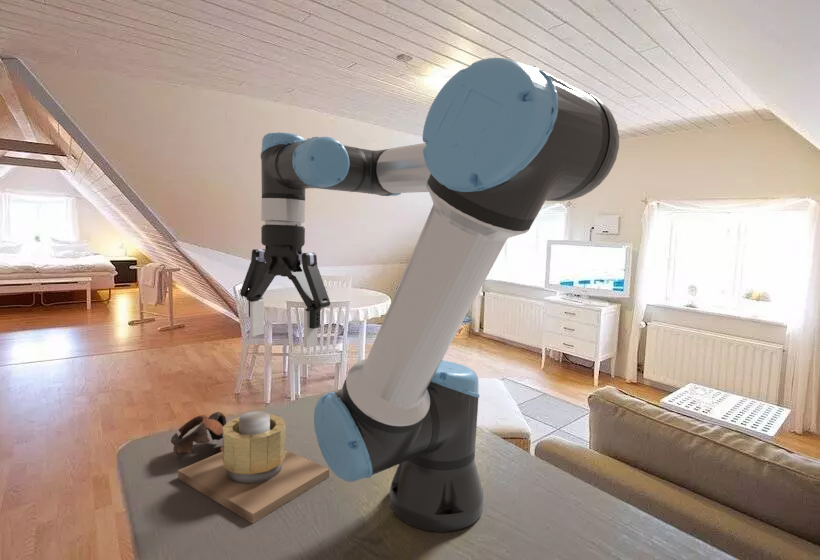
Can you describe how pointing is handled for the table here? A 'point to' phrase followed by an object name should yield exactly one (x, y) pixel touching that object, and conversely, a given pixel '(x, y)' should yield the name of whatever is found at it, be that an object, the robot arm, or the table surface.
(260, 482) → the stand
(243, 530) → the table surface
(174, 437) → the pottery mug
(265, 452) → the brass ring
